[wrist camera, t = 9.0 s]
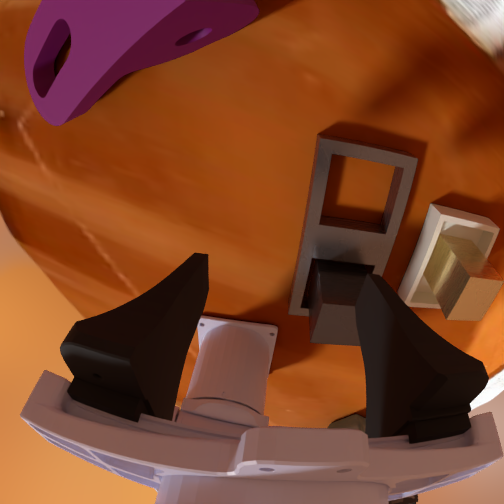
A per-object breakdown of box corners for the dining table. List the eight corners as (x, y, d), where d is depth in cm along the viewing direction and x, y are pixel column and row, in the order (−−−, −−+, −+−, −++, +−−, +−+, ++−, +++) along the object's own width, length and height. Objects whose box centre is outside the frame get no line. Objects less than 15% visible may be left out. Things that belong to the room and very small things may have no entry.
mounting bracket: (124, 105, 24) (282, 10, 13) (50, 141, 19) (185, 2, 8) (92, 33, 20) (224, -86, 8) (17, 57, 14) (122, -111, 3)
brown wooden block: (454, 276, 23) (480, 320, 18) (422, 272, 23) (446, 319, 18) (471, 240, 21) (504, 281, 16) (438, 233, 21) (470, 276, 16)
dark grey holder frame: (360, 309, 26) (363, 321, 25) (288, 302, 27) (288, 314, 25) (409, 153, 18) (418, 158, 17) (317, 133, 19) (320, 138, 17)
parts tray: (453, 296, 25) (460, 309, 23) (397, 291, 25) (402, 306, 23) (488, 217, 20) (500, 228, 18) (430, 203, 20) (441, 214, 18)
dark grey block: (350, 295, 26) (360, 346, 21) (307, 290, 26) (310, 342, 21) (362, 259, 24) (378, 308, 19) (316, 253, 24) (322, 303, 19)
